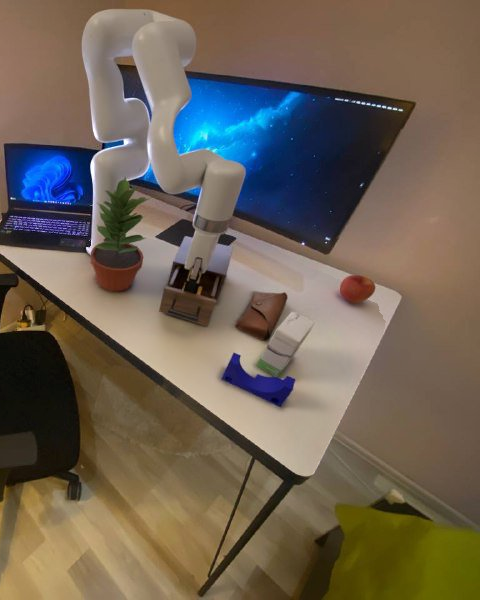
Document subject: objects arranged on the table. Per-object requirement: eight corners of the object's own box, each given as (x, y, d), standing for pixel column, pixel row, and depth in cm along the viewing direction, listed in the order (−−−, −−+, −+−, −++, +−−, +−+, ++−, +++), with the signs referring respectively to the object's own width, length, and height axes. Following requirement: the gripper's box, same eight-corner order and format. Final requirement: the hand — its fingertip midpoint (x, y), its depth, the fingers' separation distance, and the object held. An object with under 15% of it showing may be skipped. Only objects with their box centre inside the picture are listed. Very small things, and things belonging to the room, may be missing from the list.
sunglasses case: (253, 289, 97) (273, 278, 92) (270, 307, 97) (292, 297, 92) (233, 326, 86) (255, 315, 81) (252, 347, 86) (276, 337, 81)
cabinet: (215, 303, 94) (226, 275, 87) (166, 289, 98) (173, 261, 92) (223, 274, 104) (233, 247, 97) (178, 262, 108) (185, 235, 102)
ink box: (277, 378, 75) (300, 342, 68) (255, 365, 78) (275, 329, 70) (292, 357, 80) (316, 321, 72) (271, 346, 82) (292, 309, 75)
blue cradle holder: (284, 391, 73) (296, 373, 69) (280, 407, 70) (292, 389, 66) (227, 365, 78) (235, 347, 74) (221, 379, 75) (229, 361, 71)
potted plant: (109, 259, 109) (118, 162, 89) (149, 280, 101) (168, 179, 81) (76, 279, 101) (77, 178, 81) (116, 304, 93) (128, 198, 73)
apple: (368, 300, 96) (385, 277, 90) (359, 312, 92) (376, 288, 87) (339, 287, 100) (354, 264, 95) (329, 298, 96) (344, 275, 91)
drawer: (203, 339, 82) (212, 316, 77) (153, 323, 86) (158, 299, 81) (215, 294, 95) (224, 271, 90) (171, 282, 99) (176, 259, 94)
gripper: (202, 202, 83) (186, 263, 95) (185, 234, 71) (169, 300, 83) (234, 208, 80) (214, 271, 92) (222, 243, 69) (201, 310, 80)
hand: (193, 284), depth 87 cm, fingers open, 6 cm apart
